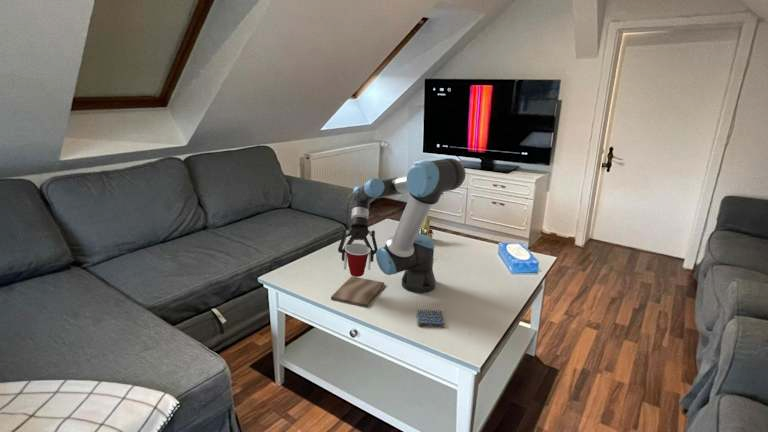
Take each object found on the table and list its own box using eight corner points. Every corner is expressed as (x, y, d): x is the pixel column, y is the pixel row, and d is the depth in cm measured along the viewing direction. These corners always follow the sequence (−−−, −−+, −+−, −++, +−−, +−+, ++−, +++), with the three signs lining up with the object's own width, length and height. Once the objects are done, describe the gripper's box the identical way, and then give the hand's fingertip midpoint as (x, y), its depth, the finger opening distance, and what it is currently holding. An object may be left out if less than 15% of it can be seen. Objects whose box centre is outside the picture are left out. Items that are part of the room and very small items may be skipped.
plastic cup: (367, 281, 169) (367, 254, 165) (341, 278, 171) (341, 251, 167) (373, 269, 179) (373, 244, 175) (348, 266, 181) (348, 241, 177)
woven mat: (442, 313, 163) (442, 309, 162) (445, 329, 153) (445, 324, 152) (415, 312, 163) (416, 308, 162) (417, 328, 153) (417, 323, 152)
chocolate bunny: (415, 243, 229) (417, 217, 225) (426, 237, 238) (427, 213, 233) (426, 246, 226) (427, 220, 221) (436, 240, 234) (438, 215, 229)
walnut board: (384, 284, 183) (384, 282, 183) (366, 307, 166) (366, 304, 165) (351, 278, 189) (351, 276, 188) (331, 299, 171) (330, 296, 171)
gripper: (385, 223, 184) (383, 272, 174) (335, 222, 184) (331, 270, 174) (385, 216, 177) (383, 266, 167) (333, 215, 177) (329, 264, 167)
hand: (357, 268), depth 171 cm, fingers closed on plastic cup, 9 cm apart
